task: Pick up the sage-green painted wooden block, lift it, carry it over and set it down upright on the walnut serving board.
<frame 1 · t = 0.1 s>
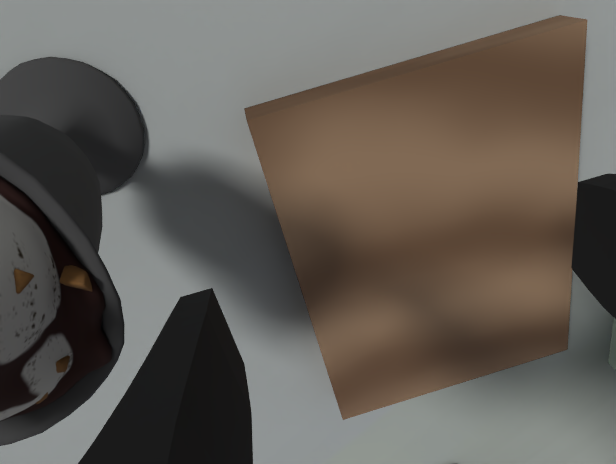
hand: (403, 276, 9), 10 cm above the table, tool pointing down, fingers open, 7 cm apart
board: (427, 241, 21), on the table
sundae: (70, 128, 17), on the table
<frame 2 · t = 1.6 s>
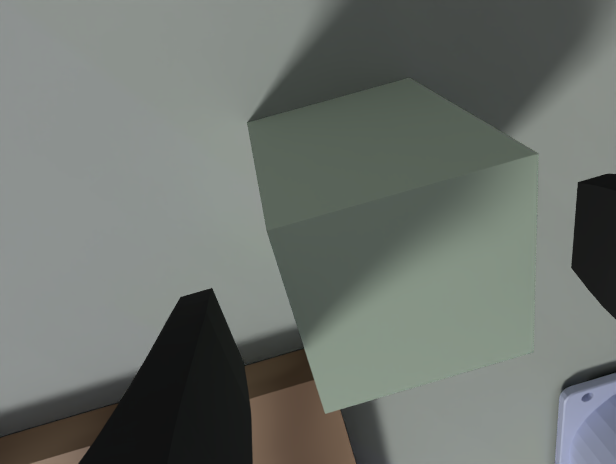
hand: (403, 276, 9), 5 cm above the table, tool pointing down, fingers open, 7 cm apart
block: (343, 175, 14), on the table
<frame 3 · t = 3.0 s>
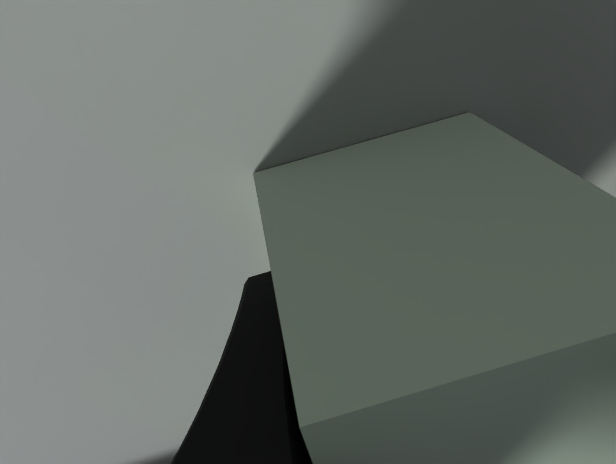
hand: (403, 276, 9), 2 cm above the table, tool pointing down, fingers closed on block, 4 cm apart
block: (378, 235, 11), on the table, touching gripper
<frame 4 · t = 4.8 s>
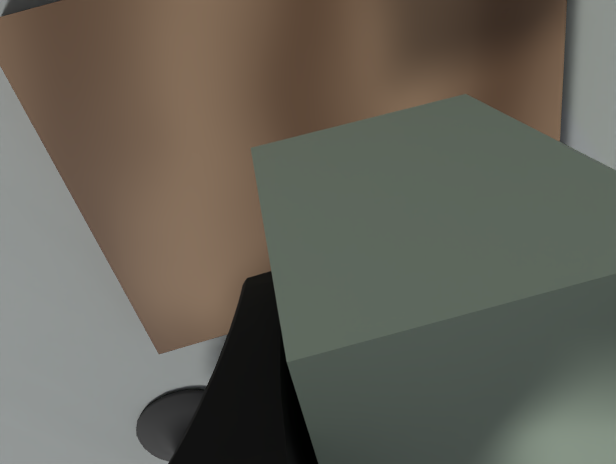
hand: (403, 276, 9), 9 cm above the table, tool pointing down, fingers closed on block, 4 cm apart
block: (373, 216, 11), point 7 cm above the table, touching gripper
board: (319, 138, 17), on the table
sundae: (190, 422, 23), on the table
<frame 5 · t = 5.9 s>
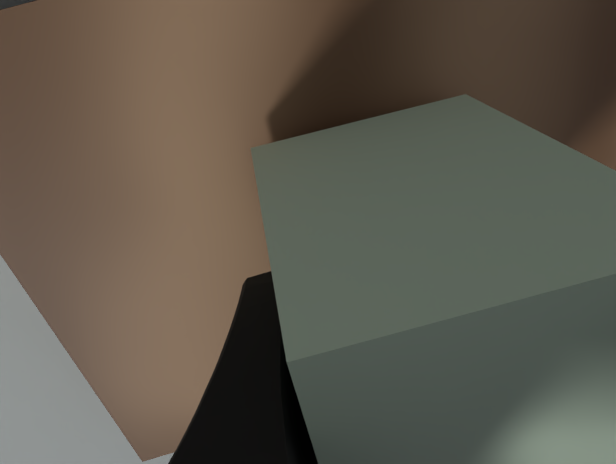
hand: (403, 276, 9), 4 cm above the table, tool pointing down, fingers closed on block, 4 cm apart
block: (373, 216, 11), point 2 cm above the table, touching gripper
board: (352, 191, 13), on the table
when the fingers open (4 cm above the table, at t = 6.5 s): block stays where it is, resting on board.
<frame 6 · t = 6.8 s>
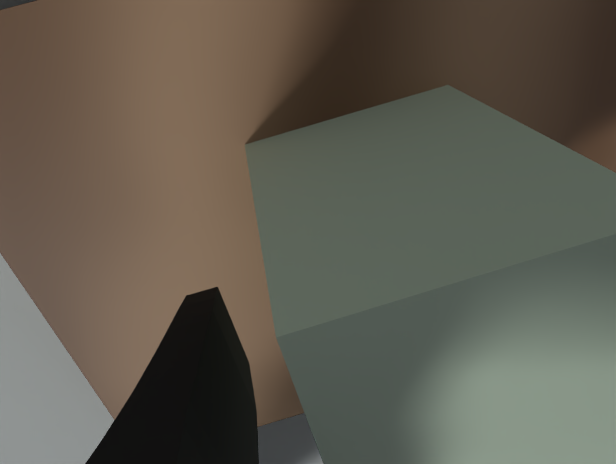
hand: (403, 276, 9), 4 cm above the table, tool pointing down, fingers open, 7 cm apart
block: (365, 205, 11), point 1 cm above the table, touching board
board: (352, 191, 13), on the table
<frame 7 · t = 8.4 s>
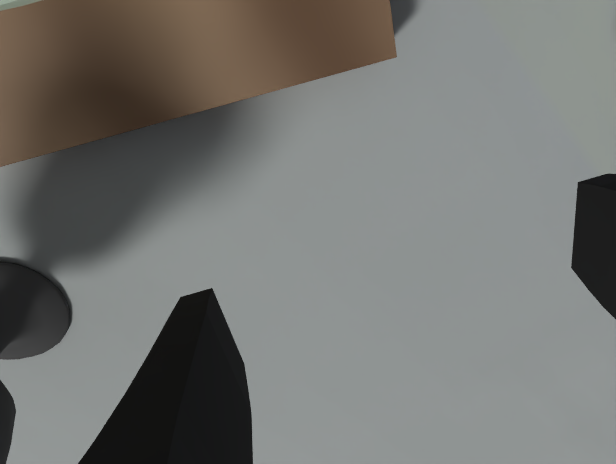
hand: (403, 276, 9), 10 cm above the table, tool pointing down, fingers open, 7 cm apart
sundae: (5, 308, 20), on the table
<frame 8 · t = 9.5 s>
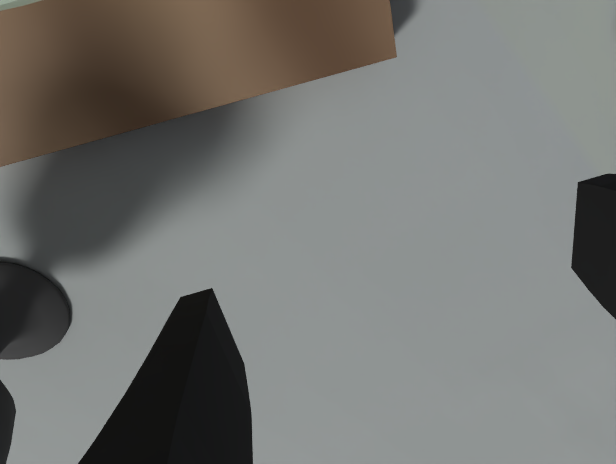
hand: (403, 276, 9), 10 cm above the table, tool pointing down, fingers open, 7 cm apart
sundae: (5, 308, 20), on the table
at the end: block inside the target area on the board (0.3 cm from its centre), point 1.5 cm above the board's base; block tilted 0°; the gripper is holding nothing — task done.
